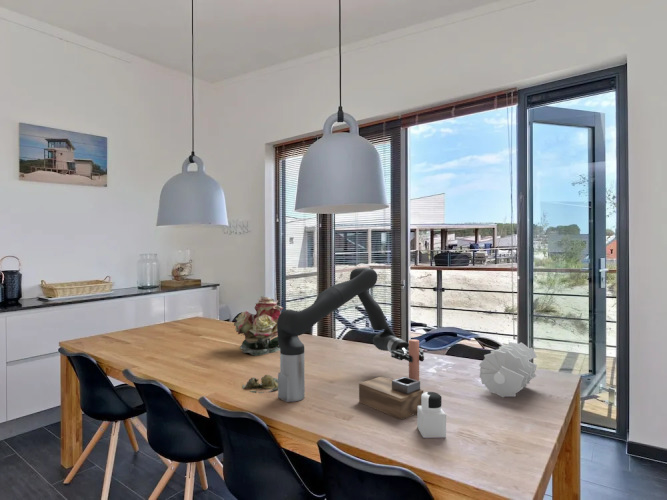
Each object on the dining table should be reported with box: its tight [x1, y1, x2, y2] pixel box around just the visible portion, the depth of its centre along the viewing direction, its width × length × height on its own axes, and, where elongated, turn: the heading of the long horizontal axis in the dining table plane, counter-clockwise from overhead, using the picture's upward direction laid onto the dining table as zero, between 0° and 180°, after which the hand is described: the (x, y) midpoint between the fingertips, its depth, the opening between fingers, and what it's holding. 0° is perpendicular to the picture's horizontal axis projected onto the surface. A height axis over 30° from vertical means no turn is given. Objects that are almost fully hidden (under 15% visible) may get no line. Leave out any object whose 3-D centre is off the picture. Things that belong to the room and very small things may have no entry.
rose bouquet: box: [233, 295, 285, 357], centre depth 224 cm, size 26×29×30 cm
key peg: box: [408, 338, 420, 381], centre depth 156 cm, size 4×4×16 cm
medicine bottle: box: [416, 391, 447, 439], centre depth 123 cm, size 7×7×12 cm
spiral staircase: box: [478, 341, 538, 399], centre depth 160 cm, size 18×18×25 cm
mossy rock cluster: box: [242, 374, 278, 394], centre depth 166 cm, size 18×18×5 cm
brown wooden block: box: [358, 376, 424, 421], centre depth 144 cm, size 12×20×10 cm, turn 40°
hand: (417, 359), depth 153 cm, fingers closed on key peg, 4 cm apart
